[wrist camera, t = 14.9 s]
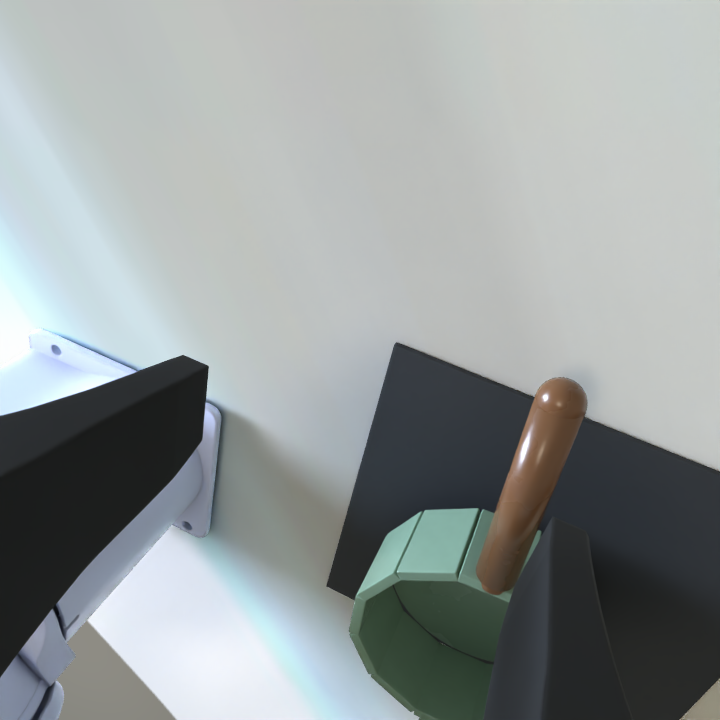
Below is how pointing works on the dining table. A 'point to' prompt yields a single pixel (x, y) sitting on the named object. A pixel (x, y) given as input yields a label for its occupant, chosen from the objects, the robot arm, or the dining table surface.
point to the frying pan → (461, 575)
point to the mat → (568, 503)
